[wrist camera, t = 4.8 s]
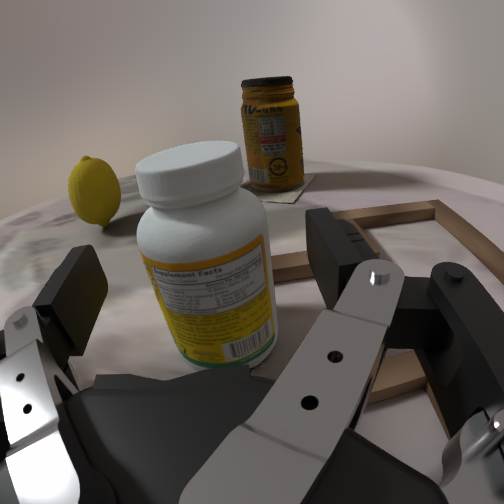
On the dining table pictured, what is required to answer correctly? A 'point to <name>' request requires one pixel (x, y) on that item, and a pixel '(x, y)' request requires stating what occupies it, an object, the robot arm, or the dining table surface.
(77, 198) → the lemon
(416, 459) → the dining table surface
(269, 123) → the condiment
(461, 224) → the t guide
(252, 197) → the supplement bottle
